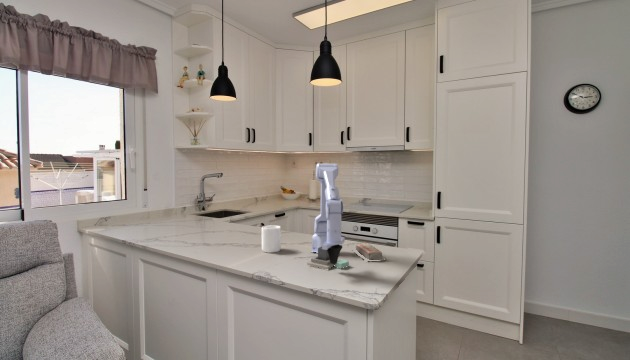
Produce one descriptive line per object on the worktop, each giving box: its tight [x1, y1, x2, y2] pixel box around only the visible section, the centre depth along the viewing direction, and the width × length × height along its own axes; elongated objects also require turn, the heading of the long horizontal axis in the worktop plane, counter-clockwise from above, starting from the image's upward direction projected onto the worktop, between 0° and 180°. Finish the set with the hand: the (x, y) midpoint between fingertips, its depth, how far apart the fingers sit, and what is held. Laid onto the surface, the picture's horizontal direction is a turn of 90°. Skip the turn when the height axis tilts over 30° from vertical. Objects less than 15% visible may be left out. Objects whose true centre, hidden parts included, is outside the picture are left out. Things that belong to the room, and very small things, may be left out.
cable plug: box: [334, 259, 350, 269], centre depth 128 cm, size 4×6×2 cm, turn 134°
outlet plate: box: [306, 255, 342, 270], centre depth 132 cm, size 10×12×3 cm
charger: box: [317, 246, 330, 261], centre depth 131 cm, size 4×4×6 cm
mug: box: [261, 224, 282, 254], centre depth 152 cm, size 10×12×12 cm
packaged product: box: [355, 242, 387, 260], centre depth 144 cm, size 18×5×10 cm
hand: (333, 263), depth 122 cm, fingers closed
